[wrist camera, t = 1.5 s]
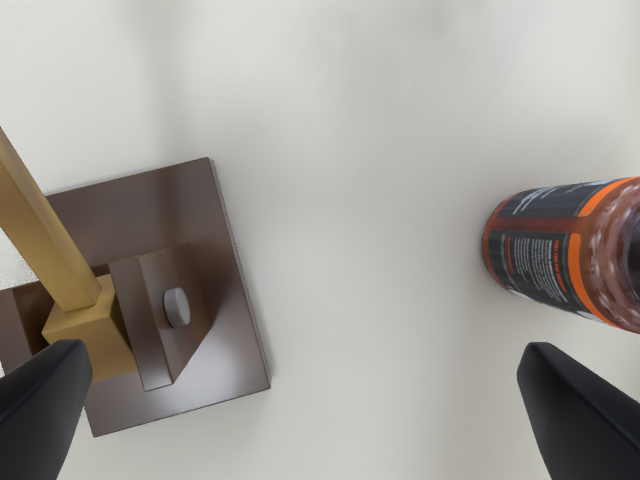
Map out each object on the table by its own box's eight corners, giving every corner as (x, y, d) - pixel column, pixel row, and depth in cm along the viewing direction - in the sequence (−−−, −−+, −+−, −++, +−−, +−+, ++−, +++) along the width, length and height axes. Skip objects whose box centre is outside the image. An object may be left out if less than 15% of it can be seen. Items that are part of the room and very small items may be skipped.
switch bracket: (38, 202, 22) (-126, 193, 13) (213, 160, 23) (166, 124, 14) (104, 425, 23) (-8, 554, 14) (271, 379, 23) (262, 475, 15)
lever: (-231, -103, 10) (-422, -120, 7) (-64, -135, 10) (-180, -165, 7) (83, 330, 18) (58, 405, 15) (169, 307, 18) (161, 377, 15)
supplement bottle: (524, 318, 24) (729, 406, 13) (455, 239, 24) (608, 259, 13) (602, 246, 24) (871, 272, 13) (536, 166, 24) (758, 121, 13)
